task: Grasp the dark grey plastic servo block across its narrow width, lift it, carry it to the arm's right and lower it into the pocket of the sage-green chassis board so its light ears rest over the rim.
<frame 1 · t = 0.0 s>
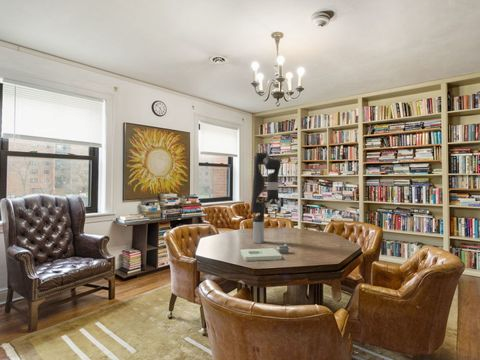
hand: (272, 213, 189), 29 cm above the table, fingers open, 8 cm apart
servo block: (283, 252, 198), on the table
chassis board: (260, 256, 189), on the table
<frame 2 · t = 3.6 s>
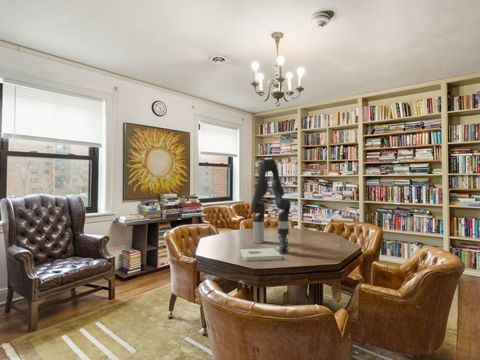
hand: (283, 251, 198), 1 cm above the table, fingers closed on servo block, 4 cm apart
servo block: (283, 252, 198), on the table, touching gripper
when the fingers open (3 cm above the table, at t = 9.2 s): servo block drops 3 cm, resting in chassis board.
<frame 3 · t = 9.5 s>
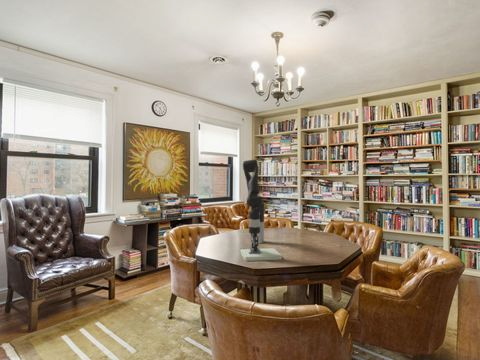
hand: (254, 250, 189), 4 cm above the table, fingers open, 7 cm apart
servo block: (254, 256, 189), resting in chassis board
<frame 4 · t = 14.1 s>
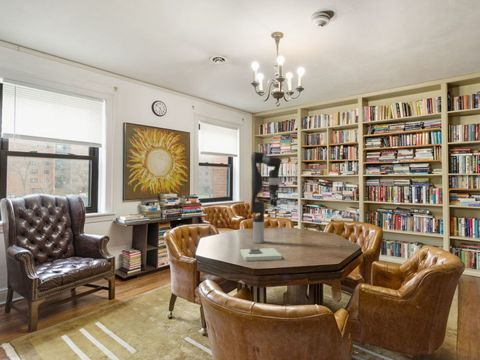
hand: (273, 205, 208), 32 cm above the table, fingers open, 8 cm apart
nothing on the table moved.
at the end: servo block 0.1 cm from the target spot on the chassis board, point 0.0 cm above the chassis board's base; servo block tilted 0°; the gripper is holding nothing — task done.
